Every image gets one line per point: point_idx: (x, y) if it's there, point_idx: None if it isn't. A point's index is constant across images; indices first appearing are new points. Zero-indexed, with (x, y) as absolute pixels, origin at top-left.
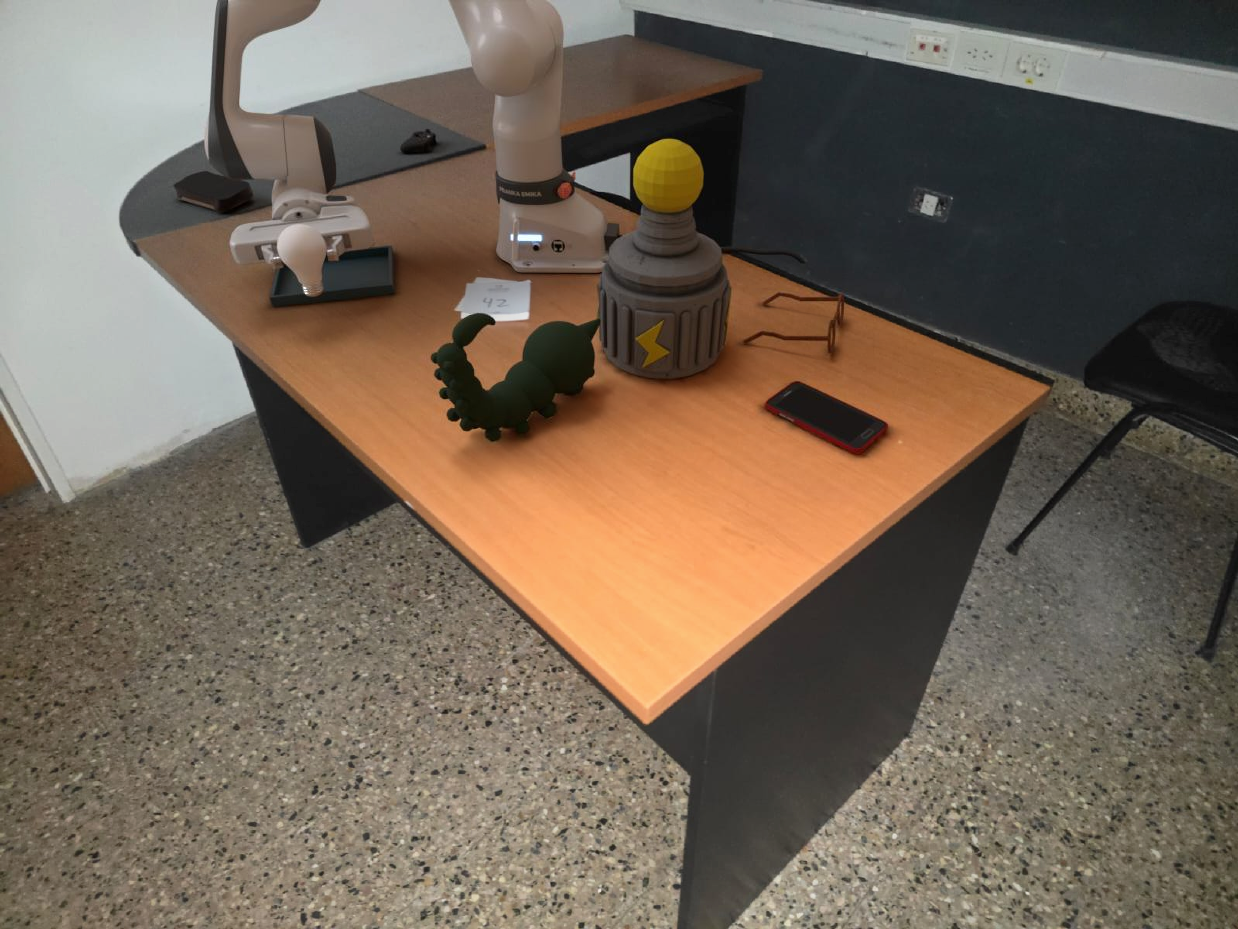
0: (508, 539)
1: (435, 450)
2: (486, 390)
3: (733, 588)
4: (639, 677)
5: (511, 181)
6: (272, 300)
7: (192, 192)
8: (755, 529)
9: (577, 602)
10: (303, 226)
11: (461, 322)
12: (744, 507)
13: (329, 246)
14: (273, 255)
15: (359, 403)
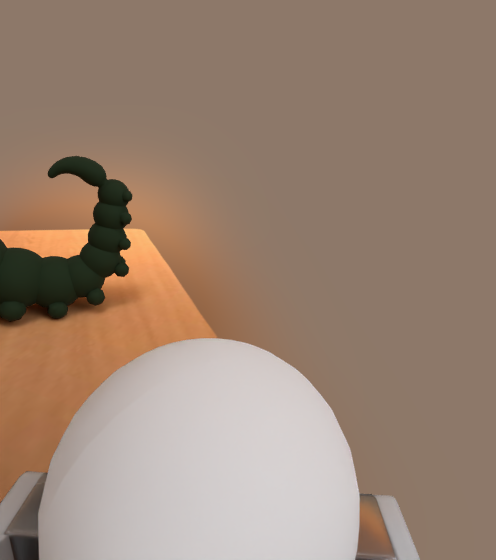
0: (145, 261)
1: (146, 308)
2: (75, 260)
3: (66, 233)
4: (138, 230)
5: None
6: None
7: None
8: (17, 240)
9: (137, 243)
10: (161, 363)
11: (92, 160)
12: None
13: (29, 522)
14: (384, 527)
15: None
